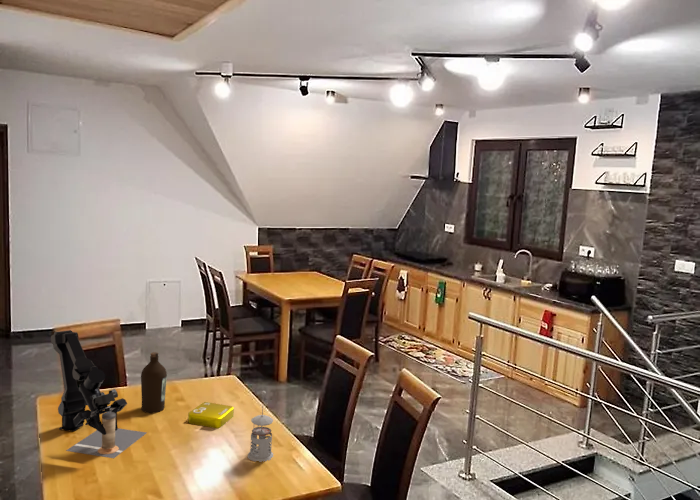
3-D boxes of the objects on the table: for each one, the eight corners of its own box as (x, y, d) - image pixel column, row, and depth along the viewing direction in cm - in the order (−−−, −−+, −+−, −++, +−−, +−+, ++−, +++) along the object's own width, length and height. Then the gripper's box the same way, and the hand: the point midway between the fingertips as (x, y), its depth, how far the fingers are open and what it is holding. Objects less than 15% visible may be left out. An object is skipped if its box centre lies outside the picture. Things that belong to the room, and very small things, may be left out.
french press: (251, 463, 206) (254, 397, 203) (242, 449, 216) (245, 386, 214) (277, 459, 211) (280, 393, 208) (267, 445, 221) (270, 383, 218)
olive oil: (138, 414, 243) (139, 357, 240) (142, 404, 253) (143, 349, 250) (164, 413, 245) (166, 356, 242) (167, 403, 255) (168, 349, 253)
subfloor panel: (65, 454, 204) (65, 450, 204) (103, 429, 226) (103, 425, 226) (113, 462, 201) (114, 457, 201) (147, 436, 223) (147, 432, 222)
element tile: (219, 429, 233) (219, 418, 233) (186, 423, 237) (186, 412, 236) (235, 415, 248) (235, 405, 247) (203, 410, 251) (204, 400, 251)
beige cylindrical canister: (98, 448, 205) (99, 416, 204) (106, 442, 209) (107, 411, 208) (110, 450, 204) (110, 418, 203) (117, 444, 209) (118, 413, 207)
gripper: (78, 390, 198) (97, 430, 194) (124, 377, 214) (143, 413, 210) (64, 406, 203) (83, 445, 199) (110, 392, 219) (129, 427, 215)
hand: (110, 432), depth 205 cm, fingers closed on beige cylindrical canister, 4 cm apart
